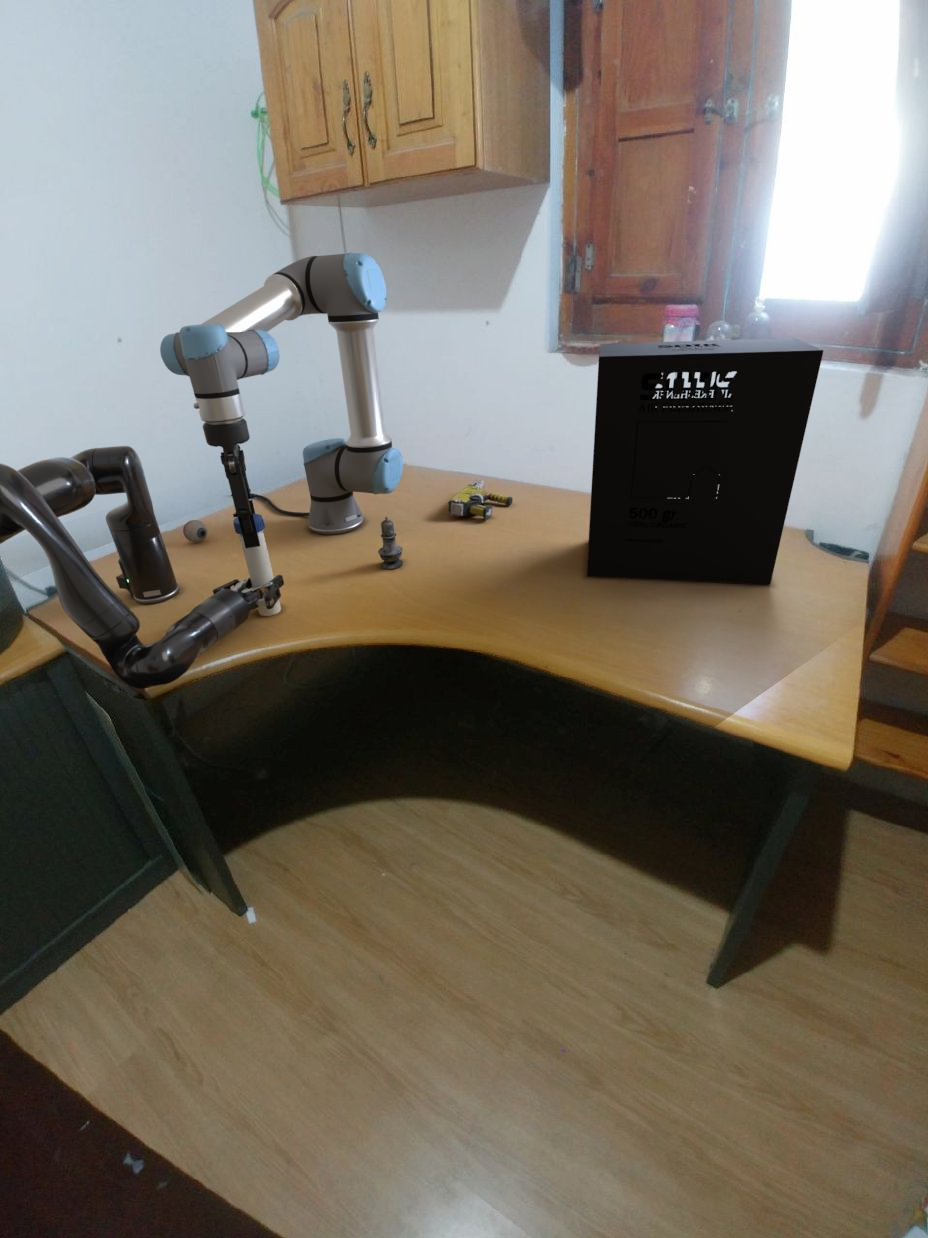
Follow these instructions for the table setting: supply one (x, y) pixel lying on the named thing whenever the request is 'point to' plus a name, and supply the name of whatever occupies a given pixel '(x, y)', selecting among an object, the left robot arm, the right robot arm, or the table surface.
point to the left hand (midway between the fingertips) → (270, 577)
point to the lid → (258, 523)
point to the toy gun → (475, 501)
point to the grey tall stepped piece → (389, 546)
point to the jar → (260, 570)
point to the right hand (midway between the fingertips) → (252, 539)
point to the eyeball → (195, 531)
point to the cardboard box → (696, 457)
